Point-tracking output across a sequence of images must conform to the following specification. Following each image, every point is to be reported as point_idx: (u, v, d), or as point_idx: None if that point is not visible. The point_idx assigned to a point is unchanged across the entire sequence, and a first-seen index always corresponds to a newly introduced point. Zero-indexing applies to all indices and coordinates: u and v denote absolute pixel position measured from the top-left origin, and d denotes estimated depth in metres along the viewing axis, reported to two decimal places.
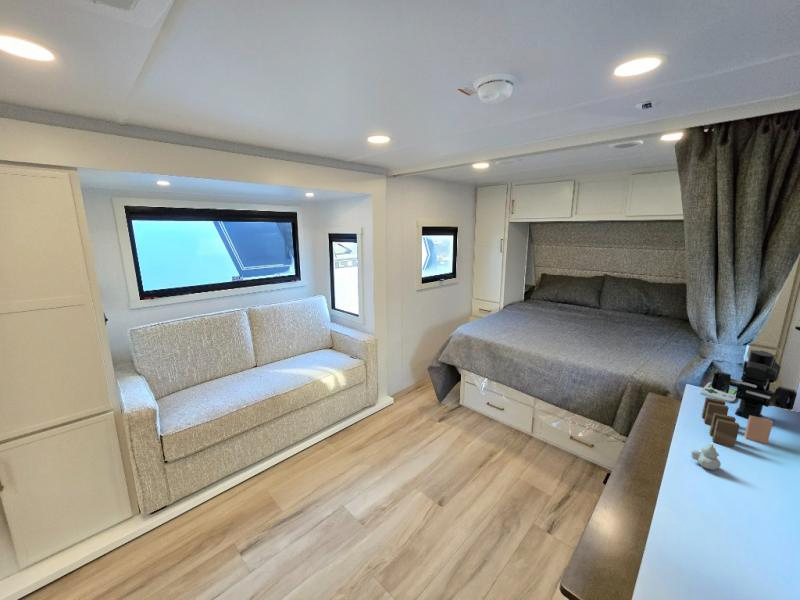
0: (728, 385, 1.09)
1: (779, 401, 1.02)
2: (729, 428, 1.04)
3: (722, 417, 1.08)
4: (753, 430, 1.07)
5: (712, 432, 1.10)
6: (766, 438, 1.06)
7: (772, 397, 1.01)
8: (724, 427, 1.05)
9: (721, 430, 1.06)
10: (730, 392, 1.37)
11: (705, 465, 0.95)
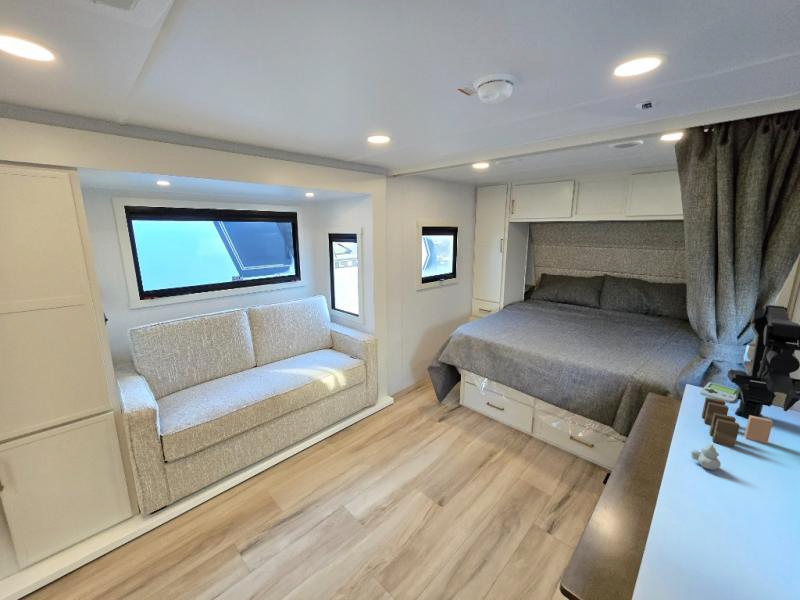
0: (746, 395, 1.07)
1: None
2: (729, 428, 1.04)
3: (722, 417, 1.08)
4: (753, 430, 1.07)
5: (712, 432, 1.10)
6: (766, 438, 1.06)
7: (790, 403, 1.01)
8: (724, 427, 1.05)
9: (721, 430, 1.06)
10: (730, 392, 1.37)
11: (705, 465, 0.95)
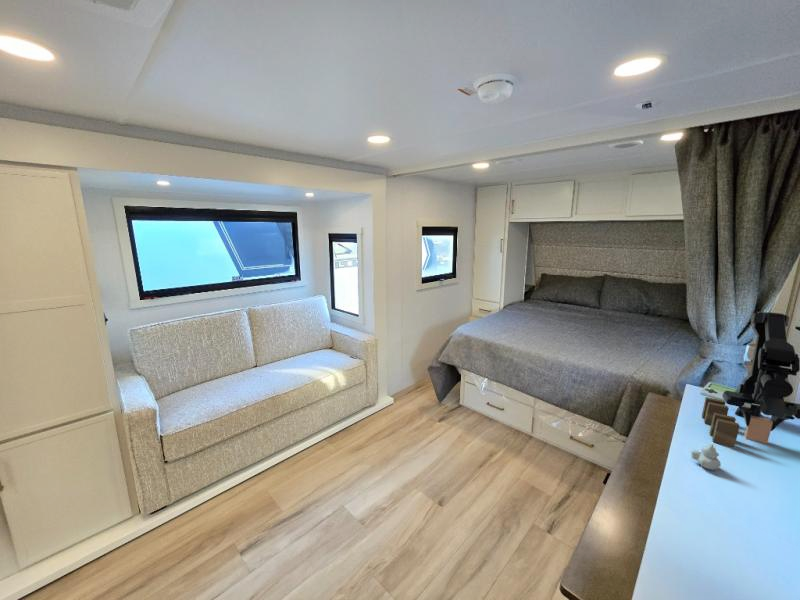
0: (749, 418, 1.07)
1: None
2: (729, 428, 1.04)
3: (722, 417, 1.08)
4: (753, 430, 1.07)
5: (712, 432, 1.10)
6: (766, 438, 1.06)
7: (775, 424, 1.04)
8: (724, 427, 1.05)
9: (721, 430, 1.06)
10: None
11: (705, 465, 0.95)
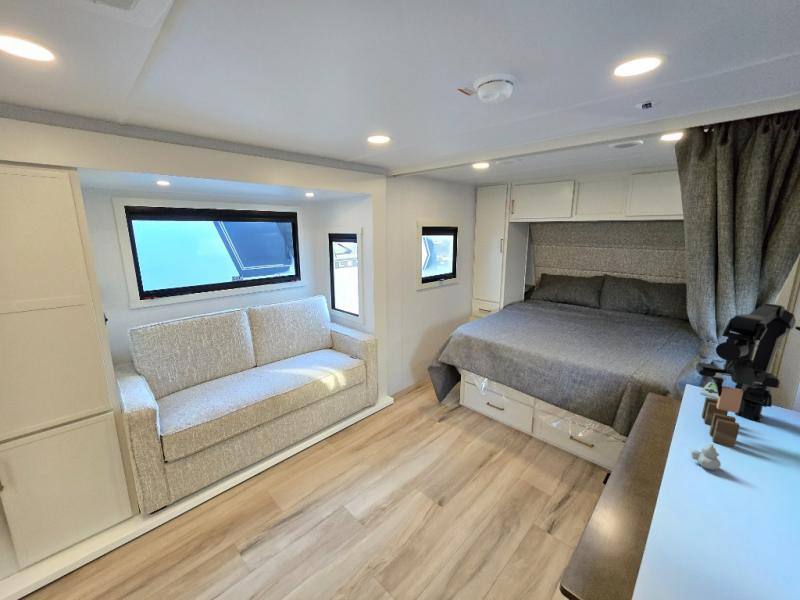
0: (720, 388, 1.09)
1: None
2: (729, 428, 1.04)
3: (722, 417, 1.08)
4: (725, 400, 1.10)
5: (712, 432, 1.10)
6: (737, 408, 1.08)
7: (745, 393, 1.06)
8: (724, 427, 1.05)
9: (721, 430, 1.06)
10: None
11: (705, 465, 0.95)
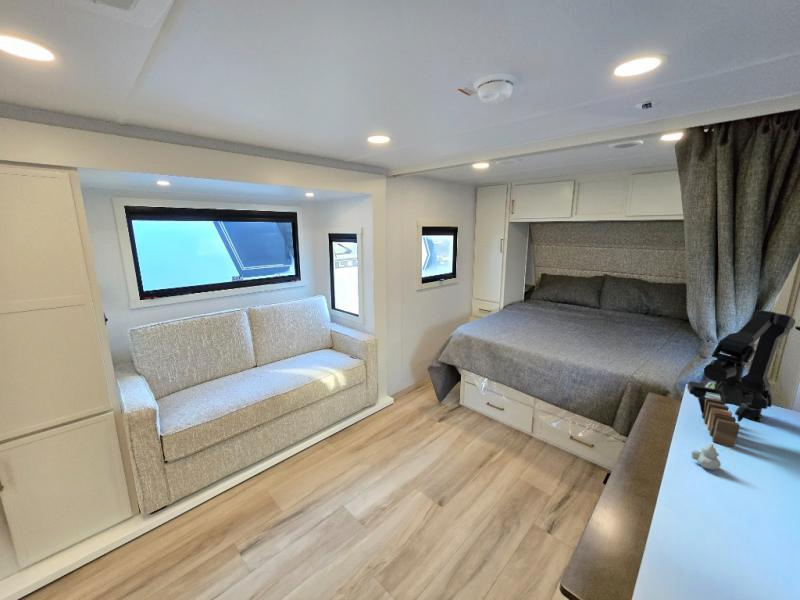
0: (703, 406, 1.13)
1: None
2: (729, 428, 1.04)
3: (722, 417, 1.08)
4: None
5: (712, 432, 1.10)
6: None
7: (743, 414, 1.08)
8: (724, 427, 1.05)
9: (721, 430, 1.06)
10: None
11: (705, 465, 0.95)
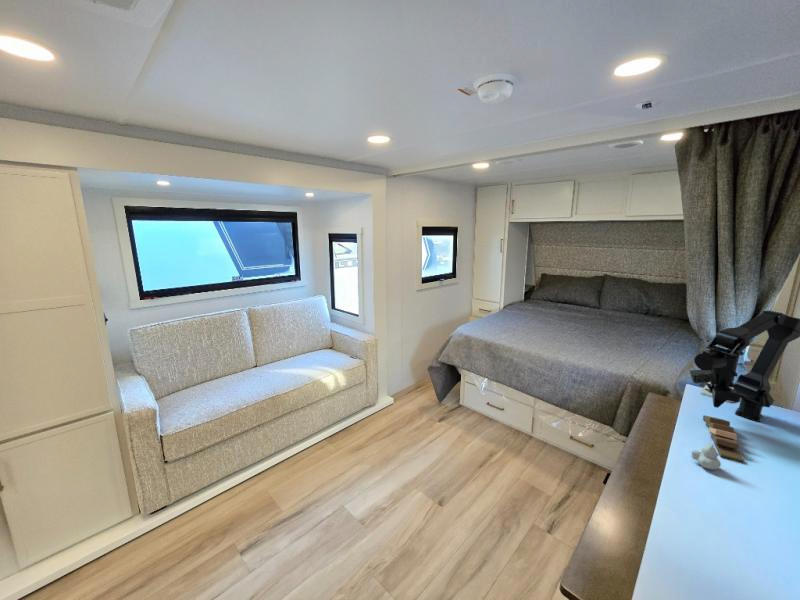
0: (712, 397, 1.17)
1: None
2: None
3: None
4: None
5: (713, 438, 1.09)
6: None
7: (713, 399, 1.16)
8: None
9: None
10: None
11: (705, 465, 0.95)
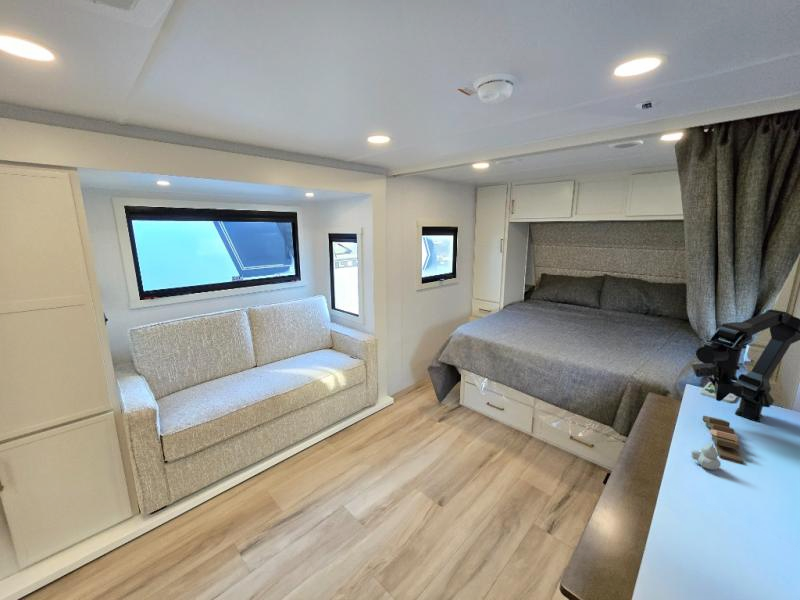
0: (715, 391, 1.18)
1: None
2: None
3: None
4: None
5: None
6: None
7: (716, 392, 1.17)
8: None
9: None
10: None
11: (705, 465, 0.95)
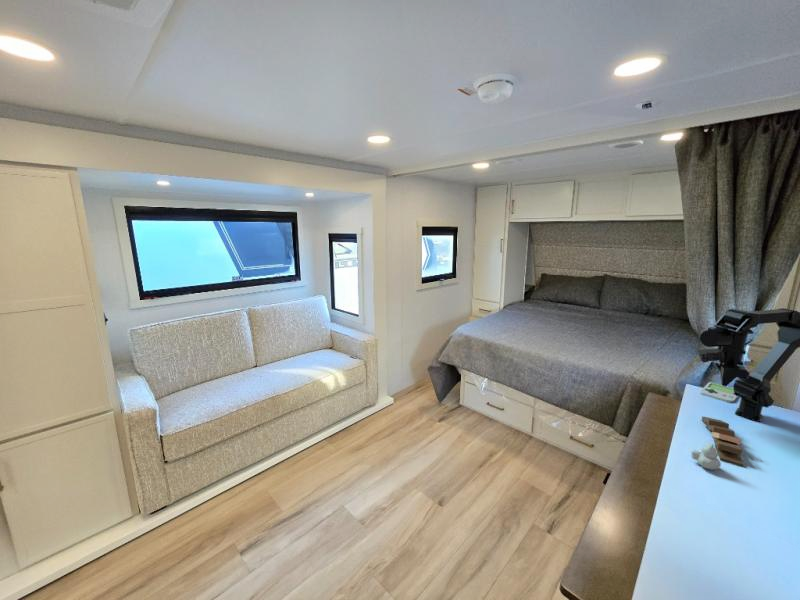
0: (721, 376, 1.18)
1: None
2: None
3: (726, 450, 1.00)
4: None
5: None
6: None
7: (721, 377, 1.17)
8: None
9: None
10: (730, 392, 1.37)
11: (705, 465, 0.95)
